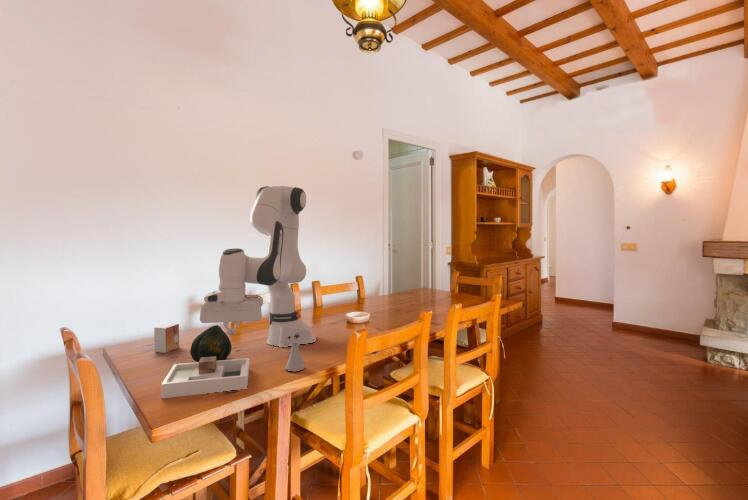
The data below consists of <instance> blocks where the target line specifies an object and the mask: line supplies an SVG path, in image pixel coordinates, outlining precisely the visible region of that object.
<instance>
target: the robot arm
mask: <svg viewBox="0 0 748 500" xmlns="http://www.w3.org/2000/svg"><path fill="white" fill-rule="evenodd" d="M306 204H307V195H306V192H305V191H304V189H303V188H300V187H296V186H294V187H293V186H284V185H281V186H267V185H265V186H262V187H260V188H258V190H257V191H256V194H255V201H254V203H253V206H252V208H251V212H250V216H249V221H250V223H251V225H252V227H253V228H254V229H255V230H256V231H258V232H259V233H261V234H262V235H265V236H267V237H268V238H269V241H268V249H267V255H266V256H264V257H251V256H248V255H246V253H245V251H244V249H242V248H228V249H224V250H223V251H221V253H220V257H219V262H218V277H219V284H218V289H217V290H214V291H210V292H208V293H206V294H205V295H204V297H203V300H204V301H203V304H202V306H201V308H200V313H199V321H200V322H201V323H202V324H213V323H214V324H216V323H223V327H224V328H225V330H226V334H227V336H229V335H230V336H231V335H237V329H238V327H239V326H240V323H241V322H245V323H246V322H259V321H261V320H262V319H263V318H262V316H263V313H262V307H263V304H264V298H263V297H262V296H261V295H259V294H246V287H247V286H246V284H254V285H255V284H257V285H263V286H267V288H268V291H269V292H268V293H269V301H270V303H269V307H270V308H269V309H270V310H269V314H268V324H269V328H268V329H269V330H268V335H267V339H266V343H267V344H268V345H270V346H273V345H274V347H278V346H279V348H282V347H284V348H289V347H288V346H291V343H293V342H298V343H300V344H306V343H312V342H315V341H316V342H317V337H316V336H315V335H314V334H312V331H311V328H310V326H309V325H308V324H307V323H306V322H305V321H303V320H301V319H300V318H301V316H302V315H301V313H300V312H299V311H298V310H296V307H295V306H296V296H295V293H294V291H293V289H291V287H290V285H289V284H297V283H301V282H302V281H304V280H305V278H306V276H307V267H306V264H305V263H304V262H303V261H302V259H301V256H300V253H299V247H298V243H299V226H300V221H299V220H300V215H299V214H300V213H301V212H303V210H304V209H305V207H306ZM229 323H234V325H235V326H234V328H230V327H229ZM316 342H315V343H316ZM306 345H307V344H306Z"/></svg>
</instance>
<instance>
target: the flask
mask: <svg viewBox="0 0 748 500" xmlns="http://www.w3.org/2000/svg"><path fill="white" fill-rule="evenodd" d="M291 346H292V347H290V348H291V350H290V354H289V356H288V360H287V362H286V365H285V368H284V370H285V369H287V370H288V371H297V370H301V369H303V368H304V367H305V368H306V366H305V363H304V361H303V358H302V354H301V351H300V346H301V345H300V343H298V342H293V343H291ZM288 371H287V372H288Z"/></svg>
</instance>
